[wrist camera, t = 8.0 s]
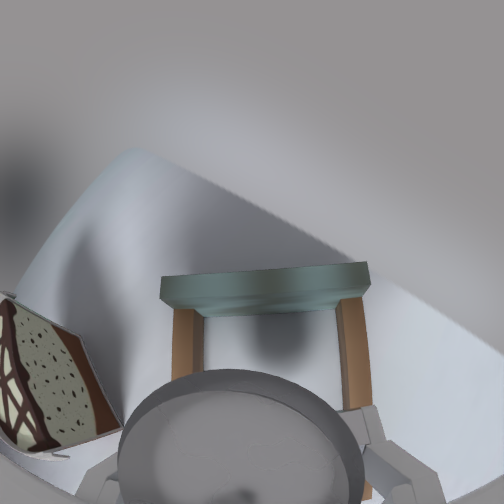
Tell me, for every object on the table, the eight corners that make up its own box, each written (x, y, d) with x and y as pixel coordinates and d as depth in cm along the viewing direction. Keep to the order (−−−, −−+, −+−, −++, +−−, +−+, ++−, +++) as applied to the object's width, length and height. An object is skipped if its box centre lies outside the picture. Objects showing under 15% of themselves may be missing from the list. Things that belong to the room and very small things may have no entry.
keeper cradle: (188, 492, 16) (162, 514, 11) (186, 299, 23) (161, 276, 18) (363, 487, 14) (381, 511, 10) (351, 287, 21) (366, 261, 17)
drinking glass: (230, 458, 13) (118, 559, 2) (228, 379, 15) (98, 360, 5) (318, 456, 12) (361, 579, 2) (315, 375, 14) (369, 355, 4)
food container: (39, 351, 22) (-37, 324, 13) (76, 322, 23) (-3, 284, 14) (88, 465, 17) (5, 479, 8) (133, 444, 18) (47, 461, 9)
